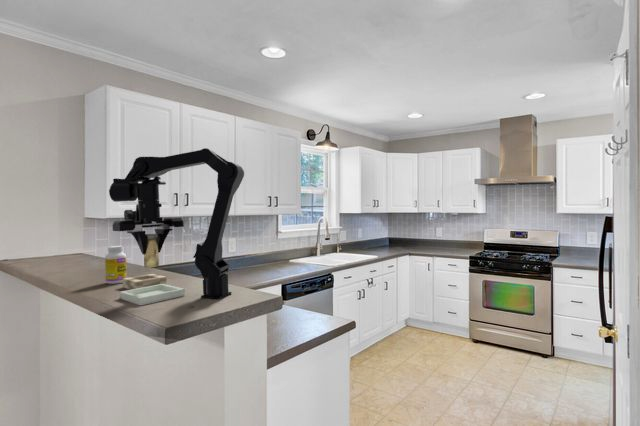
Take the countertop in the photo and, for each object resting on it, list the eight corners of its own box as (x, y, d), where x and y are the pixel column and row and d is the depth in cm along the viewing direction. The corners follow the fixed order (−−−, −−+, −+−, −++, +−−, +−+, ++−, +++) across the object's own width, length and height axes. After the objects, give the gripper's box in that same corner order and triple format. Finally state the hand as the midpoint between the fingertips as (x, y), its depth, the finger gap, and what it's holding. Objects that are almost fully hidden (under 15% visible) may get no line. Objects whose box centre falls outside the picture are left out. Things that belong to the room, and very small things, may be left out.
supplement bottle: (118, 284, 130) (116, 247, 130) (101, 284, 132) (100, 247, 131) (131, 280, 137) (130, 245, 136) (115, 280, 138) (114, 245, 138)
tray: (184, 295, 111) (184, 288, 111) (140, 305, 101) (140, 298, 101) (163, 290, 120) (162, 283, 120) (120, 298, 110) (119, 291, 110)
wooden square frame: (166, 285, 126) (166, 276, 126) (136, 291, 119) (136, 281, 119) (152, 282, 133) (152, 273, 133) (123, 287, 125) (122, 278, 125)
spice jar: (164, 265, 112) (162, 233, 112) (151, 267, 108) (150, 234, 108) (151, 264, 114) (150, 233, 114) (139, 267, 110) (137, 234, 109)
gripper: (166, 200, 123) (168, 248, 123) (103, 202, 109) (106, 255, 109) (183, 199, 116) (185, 250, 116) (119, 200, 102) (122, 258, 102)
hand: (151, 253), depth 111 cm, fingers closed on spice jar, 4 cm apart
